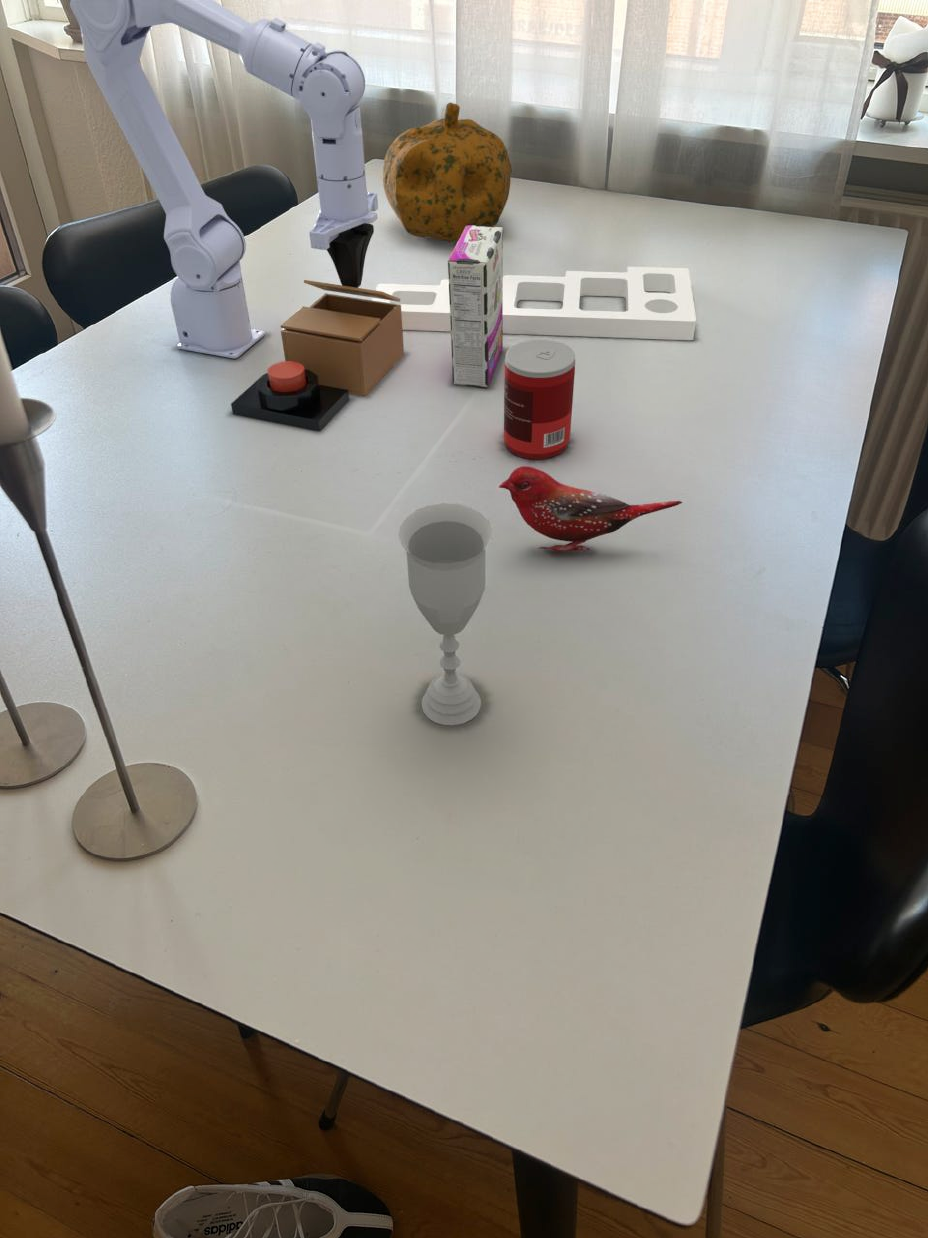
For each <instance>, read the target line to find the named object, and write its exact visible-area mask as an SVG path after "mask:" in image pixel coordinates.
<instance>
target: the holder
mask: <svg viewBox="0 0 928 1238" xmlns="http://www.w3.org/2000/svg"><path fill="white" fill-rule="evenodd" d="M502 278H503V287H502V290H503V334H504V335H505V334H509V335H532V336H533V335H537V336H560V337H561V336H563V337H564V336H565V337H585V338H587V337H590V338H614V339H615V338H616V339H641V340H644V339H645V340H672V341H693V340H694V339H695V338H694V336H695V332H696V331H695V330H696V325H697V315H696V310H695V309H696V308H695V303H694V295H693V288H692V283H691V276H690V269H689V268H687V267H656V266H655V267H653V266H627V267H626V271H625V272H624V271H623V272H622V271H621V272H619V271H618V272H617V271H587V270H585V271H584V270H566V271H565V276H551V275H549V276H548V275H546V276H545V275H518V274H517V275H516V274H504V275H503V277H502ZM374 290H375V291H382V292H385V293H387V294H389V295H392V296H394V297H397V298H399V299H400V302H399V301H392V300H386V299H379V298H373V297H371V299H370V300H372V301H379V302H385V303H392V304H397V305H401V314H402V331H424V332H425V331H426V332H427V331H428V332H450V333H451V321H450V302H449V278H448V279H447V278H445V279H441V280H440V283H439V284H437V285H435V284H434V285H433V284H432V285H431V284H401V283H378V284H377V285H376V287H375V289H374ZM584 296H590V297H621V298H624V299H625V311H611V310H609V311H608V310H607V311H606V310H583V309H581V308H580V300H581V299H580V298H581V297H584ZM519 301H544V302H545V301H547V302H561V303H562V307H561V308H559V309H554V308H553V309H551V308H550V309H548V308H522V307H521V308H520V307H518V302H519Z"/></svg>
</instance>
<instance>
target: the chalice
mask: <svg viewBox="0 0 928 1238" xmlns="http://www.w3.org/2000/svg"><path fill="white" fill-rule="evenodd" d="M398 537H399V540H400V544H401V546H402V547H403V549H404V550H405V551H406V561H407V562H406V564H407V577H408V579H407V580H408V587H409V591H410V595H411V596H412V598H413V600H414V602H415V604H416V606H417V608H418V611H419V612H420V614H421V615H422V616H423V617H424V618H425V620H426V622H427V623H428V624H429V625H430V627H431V628H432V629H433V630H434V632H435V633H437V634H439V635H441V636H442V640H441V641H440V642H439V648H440V650H441V651H442V653H443V655H442V656H441V657H440V659H439V661H438V662H439V666H440V667H441V668H442V669H443V670H444V672H443V673H441V674H439V675H437V676H435V677H434V678H433V679H431V681H430V683H429V686H428V687H427V689H426V690H425V693H424V695H423V697H422V699H421V708H422V712H423V713H424V714H425V716H426V717H427V718H428V720H430V721H433V722H434V723H437V724H440V725H443V726H458V725H463V724H465V723H467V722H469V721H472V720H473V719H474V718H475V717H476V716H477V715H478V713H479V711H480V709H481V704H482V700H481V696H480V694H479V693H478V692H477V691H476V688H475V687H474V685H473V684H472V681H471V680H470V679H469V678H468V677H467V676H465V675H463V674H462V673H459V672H456V671H457V669H458V668H459V667H460V665H461V659H460V657H459V656H457V654H456V652H457V651H458V649H459V648H460V643H459V641H458V640H457V639H456V635H457V634H459V633H461V632H462V631H464V629H465V627H466V626H467V625H468V623H469V622H470V620H471V619H472V617H473V615H474V614H475V612H476V611H477V608H478V607H479V605H480V602H481V600H482V598H483V595H484V593H485V590H486V571H487V569H486V568H487V567H486V561H487V560H486V557H487V556H486V555H487V554H486V549H488V546H489V545H490V543H491V541H492V539H493V528H492V525H491V523H490V521H489V519H488V518H487V517H485V516H484V514H483V513H482V512H480V511H479V510H476V509H474V508H472V507H470V506H467V505H463V504H459V503H447V502H446V503H445V502H444V503H443V502H442V503H435V504H430V505H426V506H423V507H421V508H418V509H416V510H414V511H413V512H412V513H410V514H409V515H407V516H406V517H405V519H404V520H403V521H402V523H401V524H400V527H399V531H398Z"/></svg>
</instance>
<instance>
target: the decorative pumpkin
mask: <svg viewBox="0 0 928 1238" xmlns="http://www.w3.org/2000/svg"><path fill="white" fill-rule="evenodd" d="M459 115H460V105H458V104H457V103H453V102H451V101H450V102H448V103H447V104H446V105H445V110H444V116H443V118H439V119H435V120H433V121H431V122H430V123H427V124H425V125H423V126H416V127H411V128H409V129H407V130H405V131H403V132H402V133H400V134H399V135H398V136H397V137H396V138H395V139H394V140H393V141H392V143H391V144H390V146H389V147H388V149H387V151H386V153H385V156H384V160H383V166H382V185H383V190H384V194H385V197H386V200H387V201H388V204H389V206H390V207H391V209H392V210H393V212H394V214H395V216H396V217H397V218H398V220H399V221H400V222H401V224H402V226H403V228H404V229H405V231H406V232H407V233H409V235H412V236H415V237H417V238H429V239H435V240H440V241H445V242H448V243H455V242H458V241H459V239H460V237H461V235H462V233H463V231H464V229H465V227H466V226H470V225H476V226H488V227H495V226H496V225H497V224H498V222H499V220H500V218H501V215H502V214H503V211H504V209H505V207H506V204H507V202H508V200H509V195H510V190H511V174H512V172H513V169H512V165H511V160H510V157H509V153H508V150H507V147H506V145H505V143H504V141H503V140H502V138H500V137H499V135H497V134H495V132H493V131H491V130H488V129H486V128H485V127H483V126H482V125H480V124H479V123H477V122H476V121H475V120H473V119H471V118H463V119H462V118H461V119H459Z"/></svg>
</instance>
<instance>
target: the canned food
mask: <svg viewBox="0 0 928 1238" xmlns="http://www.w3.org/2000/svg"><path fill="white" fill-rule="evenodd" d="M503 375H504V376H503V380H504V381H503V382H504V383H503V440H504V443H505V446H506V448H507V449H508V451H509V452H511V453H513V455H516V456H518V457H520V458H524V459H530V460H542V459H543V460H544V459H549V458H552V457H555V456H557V455H559V454H561V453H562V452H564V451H565V449H566V448H567V446H568V444H569V442H570V439H571V429H572V428H571V427H572V416H573V415H572V414H573V403H574V402H573V401H574V390H575V375H576V354H575V351H574V349H572V348H571V347H570V346H569V345H567V344H565V343H563V342H560V341H556V340H550V339H531V340H526V341H522V342H519V343H516V344H514V345H512V346H511V347H510V348H509V349H507V350H506V353H505V359H504V374H503Z"/></svg>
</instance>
